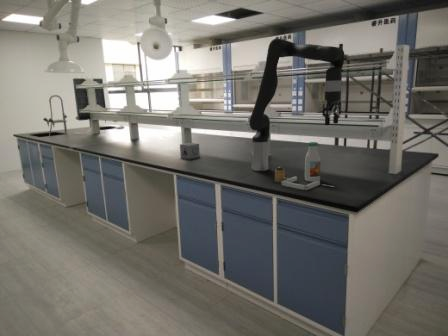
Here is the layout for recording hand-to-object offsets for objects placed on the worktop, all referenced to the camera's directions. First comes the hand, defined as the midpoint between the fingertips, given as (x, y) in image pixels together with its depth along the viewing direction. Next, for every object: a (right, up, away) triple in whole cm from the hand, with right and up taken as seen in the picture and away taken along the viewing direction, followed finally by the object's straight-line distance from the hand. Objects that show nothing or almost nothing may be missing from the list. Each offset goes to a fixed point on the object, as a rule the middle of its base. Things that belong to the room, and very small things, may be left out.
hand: (331, 124), depth 164 cm
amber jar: (-24, -29, +10) cm, 39 cm away
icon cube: (-78, -14, +84) cm, 116 cm away
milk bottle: (-7, -28, +10) cm, 31 cm away
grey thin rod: (-10, -29, +7) cm, 31 cm away
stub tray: (-15, -30, +2) cm, 33 cm away
